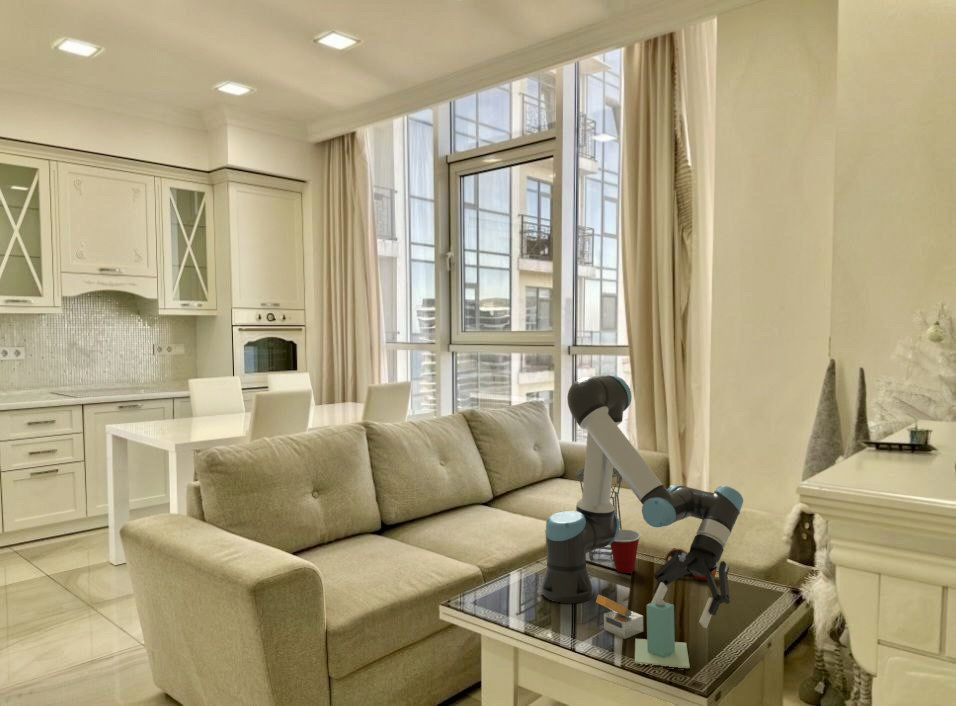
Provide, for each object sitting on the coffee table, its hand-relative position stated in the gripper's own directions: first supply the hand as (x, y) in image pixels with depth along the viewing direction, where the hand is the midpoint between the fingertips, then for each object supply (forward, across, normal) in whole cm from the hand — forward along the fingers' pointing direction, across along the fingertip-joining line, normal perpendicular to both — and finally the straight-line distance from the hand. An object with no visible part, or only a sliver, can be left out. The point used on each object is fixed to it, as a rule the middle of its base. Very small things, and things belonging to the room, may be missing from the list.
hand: (677, 616), depth 157 cm
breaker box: (+7, +14, -3) cm, 16 cm away
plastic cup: (-18, +42, -29) cm, 55 cm away
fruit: (-26, +21, -38) cm, 51 cm away
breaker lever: (+3, +14, 0) cm, 15 cm away
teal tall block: (+9, 0, 0) cm, 9 cm away
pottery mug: (-27, +30, -38) cm, 56 cm away
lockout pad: (+10, 0, 0) cm, 10 cm away
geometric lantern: (-23, +57, -34) cm, 70 cm away
